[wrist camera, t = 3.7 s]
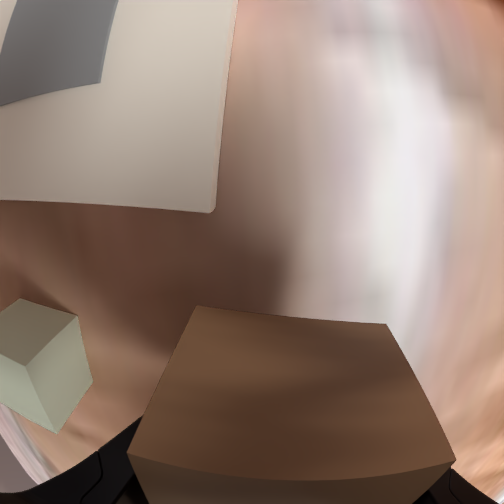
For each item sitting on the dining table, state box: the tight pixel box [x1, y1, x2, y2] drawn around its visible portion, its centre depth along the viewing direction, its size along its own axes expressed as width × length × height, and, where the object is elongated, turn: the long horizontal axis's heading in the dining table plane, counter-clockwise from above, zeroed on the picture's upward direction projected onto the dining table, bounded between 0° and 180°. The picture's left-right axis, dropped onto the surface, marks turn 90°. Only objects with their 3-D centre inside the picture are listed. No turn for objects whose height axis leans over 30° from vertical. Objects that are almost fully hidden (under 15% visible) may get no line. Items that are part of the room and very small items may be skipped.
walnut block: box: [127, 305, 456, 504], centre depth 7 cm, size 6×6×5 cm
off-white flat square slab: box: [0, 0, 238, 213], centre depth 8 cm, size 16×16×1 cm
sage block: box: [0, 298, 93, 434], centre depth 11 cm, size 4×4×4 cm
